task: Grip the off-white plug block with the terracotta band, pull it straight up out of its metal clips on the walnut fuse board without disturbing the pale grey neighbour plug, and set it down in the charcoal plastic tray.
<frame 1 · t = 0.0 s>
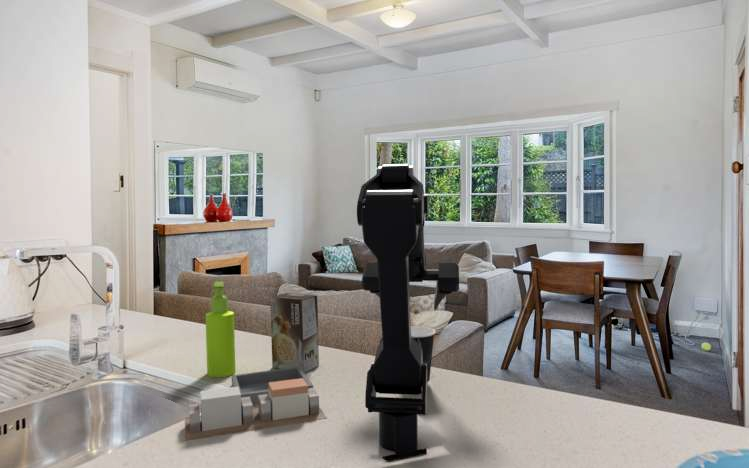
hand: (412, 307, 107), 15 cm above the worktop, tool tilted 35°, fingers open, 9 cm apart
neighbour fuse: (221, 423, 84), point 1 cm above the worktop, touching fuse board
soap dispenser: (221, 374, 112), on the worktop
tray: (271, 395, 99), on the worktop
coffee box: (295, 367, 117), on the worktop
fuse board: (255, 423, 86), on the worktop
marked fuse: (288, 412, 88), point 1 cm above the worktop, touching fuse board
dixie cup: (415, 385, 104), on the worktop
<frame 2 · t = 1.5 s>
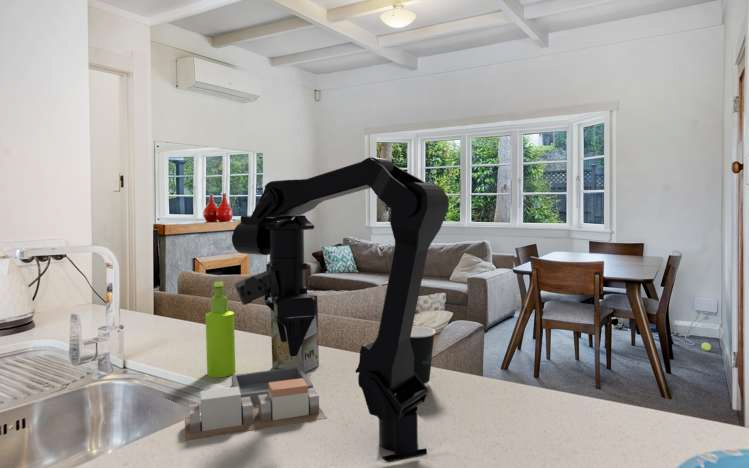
hand: (288, 348, 88), 12 cm above the worktop, tool pointing down, fingers open, 9 cm apart
nothing on the worktop moved.
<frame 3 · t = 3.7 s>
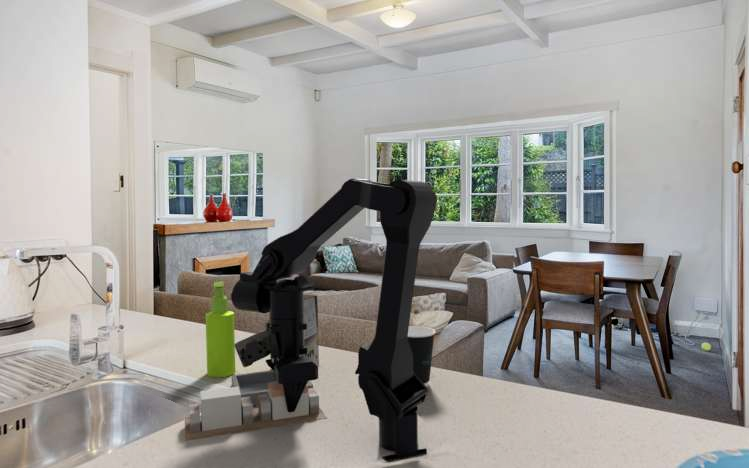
hand: (288, 407, 88), 2 cm above the worktop, tool pointing down, fingers closed on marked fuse, 4 cm apart
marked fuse: (288, 412, 88), point 1 cm above the worktop, touching fuse board, gripper
everything else where it was.
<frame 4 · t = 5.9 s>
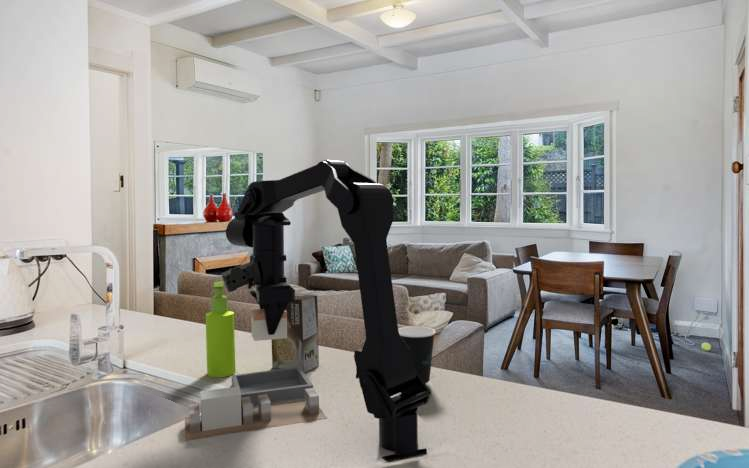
hand: (269, 331, 98), 12 cm above the worktop, tool pointing down, fingers closed on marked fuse, 4 cm apart
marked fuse: (269, 336, 98), point 11 cm above the worktop, touching gripper
everything else where it was.
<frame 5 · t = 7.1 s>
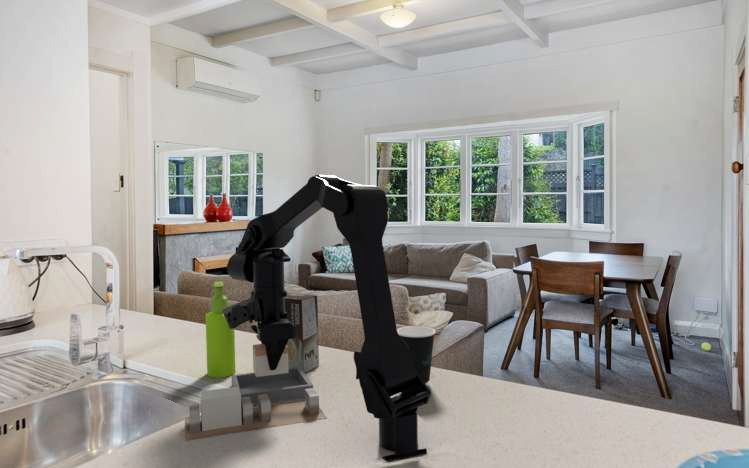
hand: (270, 366, 99), 6 cm above the worktop, tool pointing down, fingers closed on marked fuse, 4 cm apart
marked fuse: (270, 371, 99), point 5 cm above the worktop, touching gripper
everything else where it was.
when the fingers open (4 cm above the worktop, at t = 8.2 s): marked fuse drops 2 cm, resting on tray.
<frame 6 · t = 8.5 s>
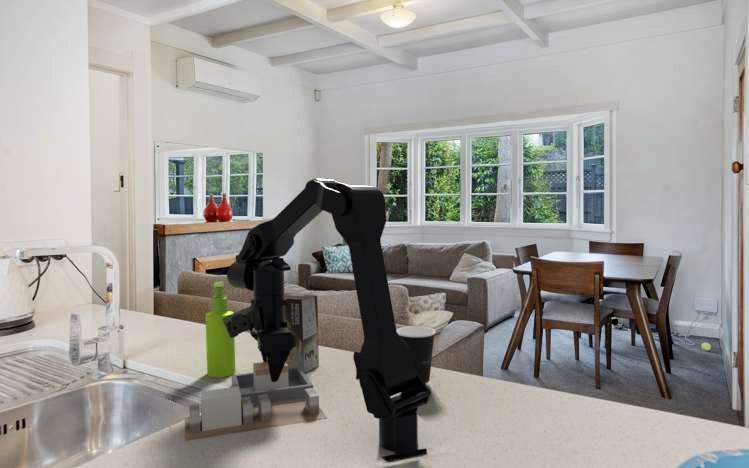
hand: (271, 374, 99), 4 cm above the worktop, tool pointing down, fingers open, 8 cm apart
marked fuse: (271, 390, 99), point 1 cm above the worktop, touching tray
everything else where it was.
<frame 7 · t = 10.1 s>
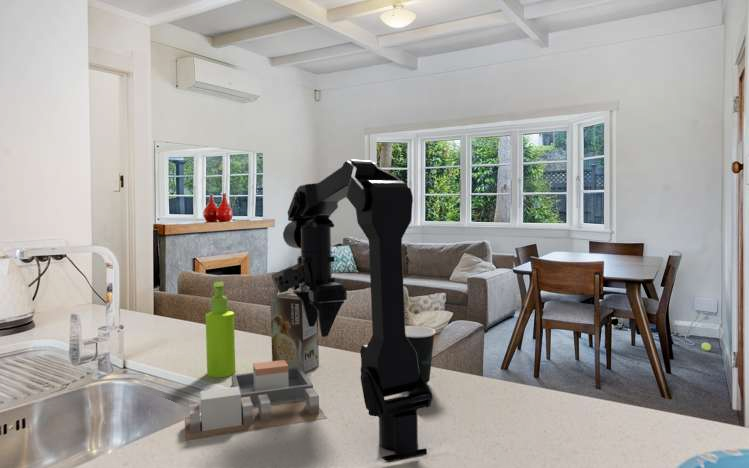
hand: (317, 331, 101), 12 cm above the worktop, tool pointing down, fingers open, 9 cm apart
nothing on the worktop moved.
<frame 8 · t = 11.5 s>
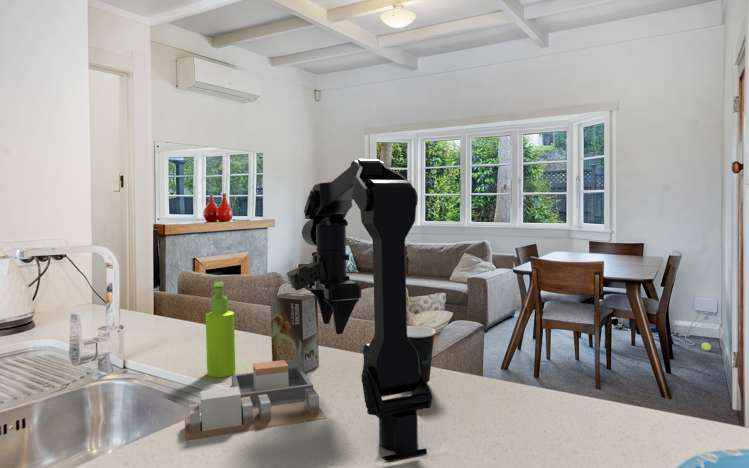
hand: (332, 328, 102), 12 cm above the worktop, tool pointing down, fingers open, 9 cm apart
nothing on the worktop moved.
at the end: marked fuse inside the target area on the tray (0.0 cm from its centre), point 1.0 cm above the tray's base; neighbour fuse moved 0.0 cm from its start; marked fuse tilted 0° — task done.
